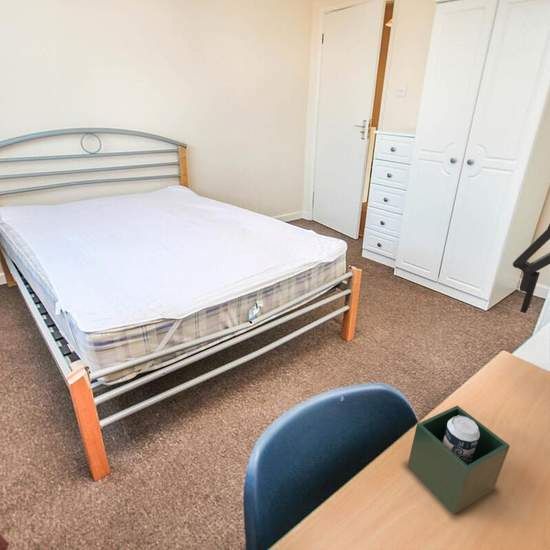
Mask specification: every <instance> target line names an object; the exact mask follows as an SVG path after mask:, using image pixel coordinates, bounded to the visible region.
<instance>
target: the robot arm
mask: <svg viewBox="0 0 550 550" xmlns="http://www.w3.org/2000/svg"><path fill="white" fill-rule="evenodd" d="M548 241H550V223H549V224H548V226H547V228H546V229H545V230H544V232H542V233H541V234H540V235H538V237H537V238H536V239H535V240H534V241H533V242H532V243H530V245H529V246H528V247H527V248H526V249H525V250H524V251H523V252H522V253H521V254H519V256H518V257H516V259H515V260H514V261H513V262H512V267H513V268H514V269H518V270H520V271H522V278H521V281H520V285H519V292H523V293H525V295H524V298H523V302H522V305H521V308H520V313H523V314H526V313H527V312H528V310H529V309H530V305H531V302H532V299H533V296H534V293H535V289H536V286H537V284H538V280H539V277H540V274H541V272H539V271H540V270H542V269H544V268H545V267H547V266H549V265H550V252H548V253H546V254H544V255H543V256H540V257H538V258H537V259H536V260H534V261H532V262H529V261H528V260H530V258H531V257H533V255H535V254H536V253H537V252H538V251H539V250H540V249H541V248H542V247H543V246H544V245H546V243H547V242H548Z"/></svg>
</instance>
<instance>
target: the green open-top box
mask: <svg viewBox="0 0 550 550" xmlns="http://www.w3.org/2000/svg"><path fill="white" fill-rule="evenodd" d="M458 415H459V416H464V417H467V418H469V419H471V420H473V421H474V422H475V423H476V425H477V426H478V429H479V432H480V437H479V439H478V442H477V445H476V448H475V451H474V454H473V457H472V460H471V463H470V464H469V465H466V464H465V463H464V462H463V461H462V460H461V459H460V458H459V457H458V456H456V455H455V454H454V453H453V452H452V451H451V450H450V449H449V448H447V447H446V446H445V445H444V444H443V440H444V437H445V433H446V429H447V423H448V421H449V420H450V419H452V418H453V417H455V416H458ZM414 431H415V432H414V436H413V439H412V445H411V448H410V452H409V457H408V462H407V467H408V469H409V470H410V471H411V472H412V473H413V474H414V475H415V476H416V477H417V478H418V479H419V480H420V482H421V483H423V484H424V486H425V487H426V488H427V489H428V490H429V491H430V492H431V493H432V494H433V495H434V496H435V497H436V498H437V499H438V500H439V501H440V502H441V503H442V505H444V507H445V508H446V509H447V510H448V511H449V512H450V513H451V514H452V515H456V514H457V513H459V512H460V511H462V510H464V509H465V508H467V507H468V506H470V505H471V504H473V503H474V502H476V501H477V500H479V499H481V498H482V497H484V496H485V495H487V494H489V493H490V492H492V491H493V490H494V489H495V487H496V484H497V482H498V479H499V476H500V475H501V470H502V469H503V465H504V463H505V460H506V457H507V455H508V453H509V449H510V447H511V445H510V444H509V443H507V442H506V441H504V439H502V438H501V437H500V436H498V435H497V434H495V433H494V432H493V431H492V430H491V429H489V428H488V427H486V426H485V425H483V424H482V423H481V422H480V421H479V420H477V419H476V418H475V417H473V416H472V415H471V414H469V413H468V412H467V411H466V410H465V409H464V408H461V406H459V405H454V406H453V407H450V408H448V409H445V410H444V411H442V412H440V413H438V414H436V415H432V416H431V417H429V418H426V419H424V420H422V421H419V422H418V423H417V424H416V428H415V430H414Z"/></svg>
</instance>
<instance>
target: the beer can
mask: <svg viewBox="0 0 550 550" xmlns="http://www.w3.org/2000/svg"><path fill="white" fill-rule="evenodd" d="M479 437H480V432H479V429H478V426H477V425H476V423H475V422H474V421H473V420H471V419H469V418H467V417H464V416H459V415H458V416H455V417H453V418H452V419H450V420H449V421H448V423H447V429H446V433H445V437H444V440H443V444H444V445H445V446H446V447H447V448H449V449H450V450H451V451H452V452H453V453H454V454H455V455H456V456H458V457H459V458H460V459H461V460H462V461H463V462H464V463H465V464H466V465H469V464H470V463H471V460H472V457H473V454H474V451H475V448H476V445H477V442H478V439H479Z"/></svg>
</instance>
